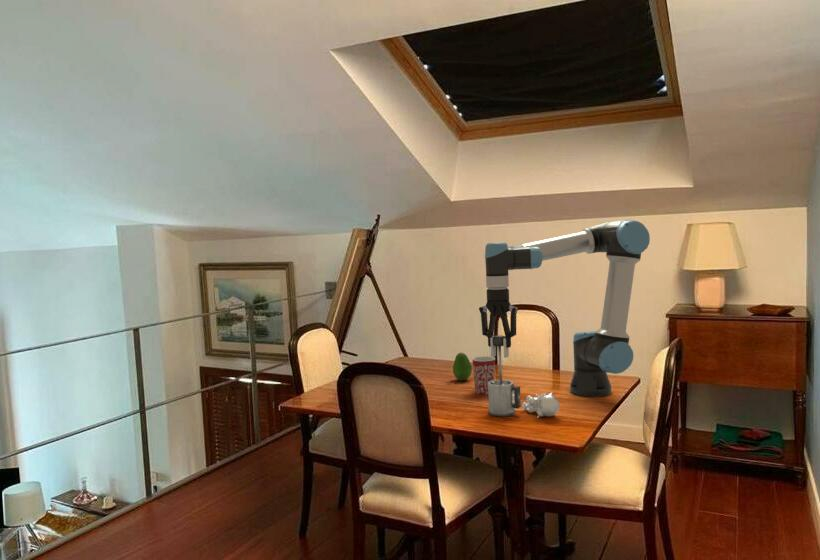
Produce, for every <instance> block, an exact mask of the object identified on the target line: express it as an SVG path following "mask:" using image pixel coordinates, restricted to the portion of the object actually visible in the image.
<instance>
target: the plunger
mask: <svg viewBox="0 0 820 560" xmlns="http://www.w3.org/2000/svg"><path fill="white" fill-rule="evenodd" d="M504 338H505V335H494V336H493V342H494V346H496V347H497V351H498V378H499V379H498V380H499V383H495V384H493V385H509V384H507V383H502V380H503V374H502V373H503V369H502V368H503V367H502V365H503V364H502V347H504V345H503V339H504Z"/></svg>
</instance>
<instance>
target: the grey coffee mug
mask: <svg viewBox="0 0 820 560" xmlns="http://www.w3.org/2000/svg"><path fill="white" fill-rule="evenodd" d="M495 383H499V379H494V381H490V382H488V395H487V396H488V411H487V413H488V415H490V416H492V417H496V418H500V417H501V418H505V417H511V416H512V417H513V416H514V415H516V409H520V408H521V407H522V403H521V386H518V385H515V384H514V382H513V381H512V380H509V379H502V383H507V384H509V385H493V384H495Z"/></svg>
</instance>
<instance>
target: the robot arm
mask: <svg viewBox="0 0 820 560" xmlns="http://www.w3.org/2000/svg"><path fill="white" fill-rule="evenodd" d="M650 240H651V236H650V232H649V230H648V228H647V227H646V226H645V224H643V223H642V222H641V221H638V220H635V219H634V220H632V219H624V220H612V221H607V222H602V223H600V224H597V225H593V226H589V227H586V228H582V230H581V232H575V233H571V234H565V235H560V236H556V237H551V238H547V239H541V240H536V241H531V242H526V243H522V244H517V245H512V246H511V245H510V246H508V243H507V242H488V243H486V244H485V249H484V251H485V252H484V259H485V261H484V262H485V284H486V285H485V286H486V288H487V290H486V304H485V305H481V306H479V308H478V310H479V313H480V320H481V321H480V322H481V332H482V333H481V334H482V336H484V337H487V346H488V347H489V348H490V357H494V358H495V357H496V356H497V349H496V348H497V346H494V342H493V336H495V334H494V333H495V326H496V320H497V317H498V316H499V317H500V320H501V324H502V328H503V333H504V336H505V338H504V339H503V345H504V346H503V358H504V359H506V358H509V356H510V353H509V352H510V351H509V349H510V348H511V346H512V338H513V337H515V336H517V313H518V311H519V308H518V306H513V305H511V303H510V289H509V288H508V287H509V286H510V285H509V284H510V282H509V271H513V270H514V271H515V270H533V269H539V268H541V266H542V264H543V262H545V261H547V260H554V259H558V258H564V257H568V256H572V255H576V254H582V253H586V254H595V253H605V254H606V255H605V257H606V259H607V260H608V261H609V266H608V271H607V272H608V273H607V278H606V279H607V280H606V287H605V294H604V301H603V309H602V316H601V321H600V327H599V329H597V330H591V331H589V330H588V331H579V332H575V333H574V334H573V340H572V344H573V345H572V346H573V370H574V371H573V374H572V378H571V382H570V384H569V392H570V393H571V394H573V395H576V396H582V397H603V396H608V395H610V394H611V393H612V385H611V381H610V379H609V376H608V373H609V374H615V375H616V374H617V375H618V374H621V373H624V372H625V371H626V370H628V369H629V368H630V367H631V365H632V363H633V360H634V350H633V349H632V346H630V335H629V334H628V333H627V326H628V317H629V311H630V302H631V295H632V291H633V290H632V288H633V281H634V275H635V266H636V264H637V263H639V262H640V261H641V259H642V258H641V255H642V253H643V252H645V251H646V250H647V249H648V247H649V245H650ZM487 311H489V321H488V312H487ZM508 311H509V312H510V314H509V315H510V317H509V318H510V320H509V319H508ZM509 321H510V322H509ZM488 322H489V323H488ZM509 323H510V324H509Z"/></svg>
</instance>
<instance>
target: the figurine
mask: <svg viewBox="0 0 820 560" xmlns="http://www.w3.org/2000/svg"><path fill="white" fill-rule="evenodd" d="M525 400H526V402H525V401H524V402H522V403H521V407H522V408H523V409H524V410H525V411H527V412H529V413H531V414H532V413H534V412H536V414H537V416H536V418H537V419H539V417H540V418H542V417H553V416H555V415H556V414H558V412H559V410H560V401H559V400H558V398H557V397H556V396H554V392H553V391H552V392H550V393H547V392H544V393H541V394H537V393H535V395H534V397H533V396H532V395H527V396H526V397H525Z"/></svg>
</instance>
